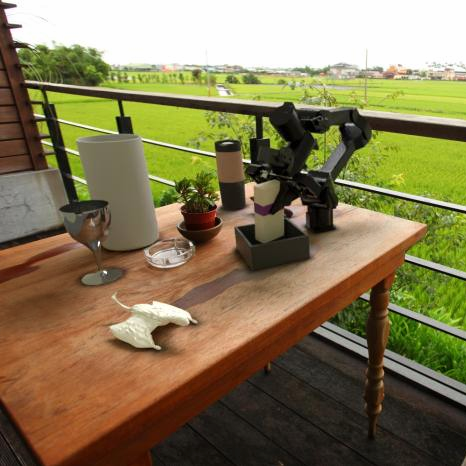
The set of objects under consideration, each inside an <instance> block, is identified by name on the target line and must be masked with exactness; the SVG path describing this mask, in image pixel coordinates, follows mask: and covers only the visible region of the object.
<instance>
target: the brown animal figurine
mask: <svg viewBox="0 0 466 466" xmlns="http://www.w3.org/2000/svg"><path fill="white" fill-rule="evenodd" d="M249 200H251V201H252V202H253V203H254V195H253V196H249ZM292 204H293V202H291V203H289V204H288V205H286V206H285V207H284V216H286V217H293V215H294V212H293V211H292V210H291V209H290V208H286V207H290V206H292Z"/></svg>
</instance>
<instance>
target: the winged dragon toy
mask: <svg viewBox="0 0 466 466" xmlns="http://www.w3.org/2000/svg"><path fill="white" fill-rule="evenodd" d="M117 293H118V291H116V292H115V293H114V294H113V295H112V294H111V295H109V296H110V299H111V300H112V301H113V302H114V303H115V304H116V306H118V307H120V308H121V310H123V311H124V312H126V313H130V312H131V315H130V316H129V317H127V318H126V320H125V321H123V322H122V321H121V322H119V323H116V324H115V323H114V324H112V325H110V326H109V330H110V332H111V333H112V335H113V336H114V337H115V338H117V339H118V340H120V341H123V342H125V343H128V344H130V345H131V346H133V347H134V348H141V349H143V348H144V349H146V348H153V349H155V350H158V351H161V350H162V347H161V346H159V345H158V344H156V345H155V342H154V340H153V335H152V334H151V333H153V331H154V330H155V329H156V328H157V327H158V326H159V327H162V326H166V325H168V324H169V323H173V324H175V325H178V326H180V327H187V326H188V325H190V322H192V323H193V324H198V321H197V320H196V319H193V317H192V316H191V314H190V313H189V312H188V311H187V310H184V309H183V308H179V307H177V306H175V305H171V304H168V303H164V302H160V301H156V300H153V301H152V304H150V303H149V304H148V303H144V302H143V303H138V304H135V305H132V306H126V305H124V304H123V303H121V302H120V301H119V300H117Z"/></svg>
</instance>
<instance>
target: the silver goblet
mask: <svg viewBox="0 0 466 466" xmlns="http://www.w3.org/2000/svg"><path fill="white" fill-rule="evenodd" d="M58 212H59V216H60V219H61V222H62V224H63V226H64V228H65V230H66V232H67V234H68V235H69V237H71V238H72V239H73V240H74V241H75V242H77V243H79V244H81V245H82V246H84V247H86V248H87V249H89V251H90V252H91V253H92V255H93V257H94V259H95V262H96V265H97V266H96V267H97V270H94V271H91V272H89V273H87V274H85V275H84V276H83V277H82V278H81V283H82V284H84V285H87V286H97V285H105V284H107V283H108V284H109V283H111V282H113V281H115V280H117V279H119V278H120V277H121V276H122V275H123V270H122V269H120V268H117V267H107V268H104V267H103V264H102V258H101V249H102V247H103V245H102V244H103V242H104V241H105V239H106V238H107V236H108V235H109V233H110V231H111V226H112V217H111V210H110V206H109V203H108V202H107V201H104V200H91V199H86V200H80V201H74V202H70V203H67V204H64V205H62V206H61V207H59V209H58Z"/></svg>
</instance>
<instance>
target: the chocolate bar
mask: <svg viewBox="0 0 466 466" xmlns="http://www.w3.org/2000/svg"><path fill="white" fill-rule="evenodd" d="M279 190H280V181H277V180H271V181H268V182H265V183H261V184H255V185H253V196H254V202H253V211H254V212H253V213H254V223H255V239H256V240H258V241H260V242H262V243H267V242H270V241H272V240H274V239H277V238H279V237H281V236H284V218H285V214H284V208H285V207H284V208H282V209H281V210H280V211H278V212H277V213H275V214H274V215H271V214H270V209H271V207H272V205H273V203H274V201H275V199H276V197H277V194H278V192H279Z"/></svg>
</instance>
